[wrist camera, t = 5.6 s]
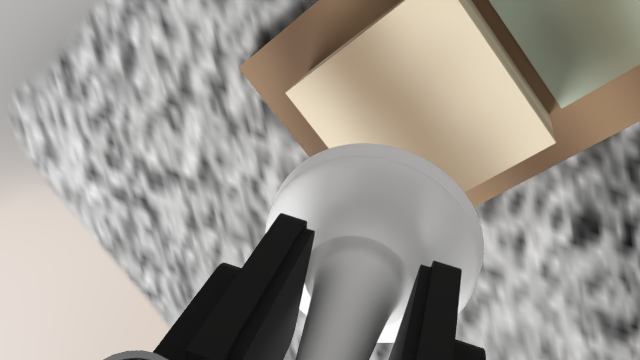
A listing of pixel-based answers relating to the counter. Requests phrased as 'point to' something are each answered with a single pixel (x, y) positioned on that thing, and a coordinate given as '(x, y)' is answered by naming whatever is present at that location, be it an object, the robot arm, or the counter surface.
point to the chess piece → (373, 242)
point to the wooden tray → (457, 81)
